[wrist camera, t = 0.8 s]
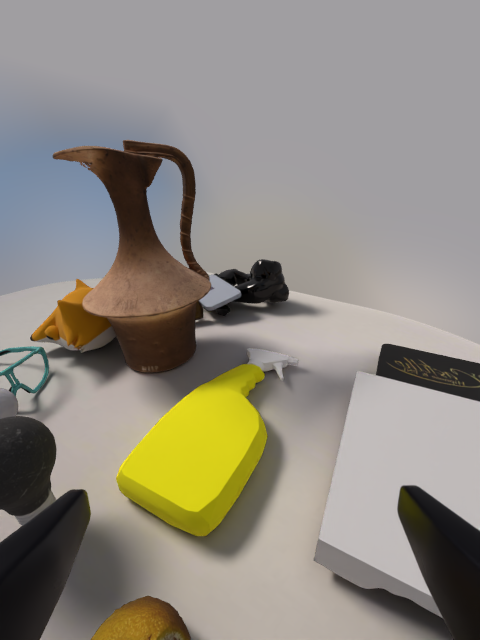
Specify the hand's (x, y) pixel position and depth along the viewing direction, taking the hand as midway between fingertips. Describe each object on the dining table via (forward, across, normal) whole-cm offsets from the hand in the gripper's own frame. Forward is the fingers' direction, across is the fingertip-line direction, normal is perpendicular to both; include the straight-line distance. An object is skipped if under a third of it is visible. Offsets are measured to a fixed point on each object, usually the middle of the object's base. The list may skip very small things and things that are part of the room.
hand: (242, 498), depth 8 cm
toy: (+38, +24, +9) cm, 46 cm away
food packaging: (+13, -16, +14) cm, 25 cm away
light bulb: (+12, +16, +14) cm, 25 cm away
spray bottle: (+22, +1, +12) cm, 25 cm away
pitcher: (+35, +13, +9) cm, 38 cm away
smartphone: (+44, +3, +3) cm, 45 cm away
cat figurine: (+53, +1, +5) cm, 53 cm away
